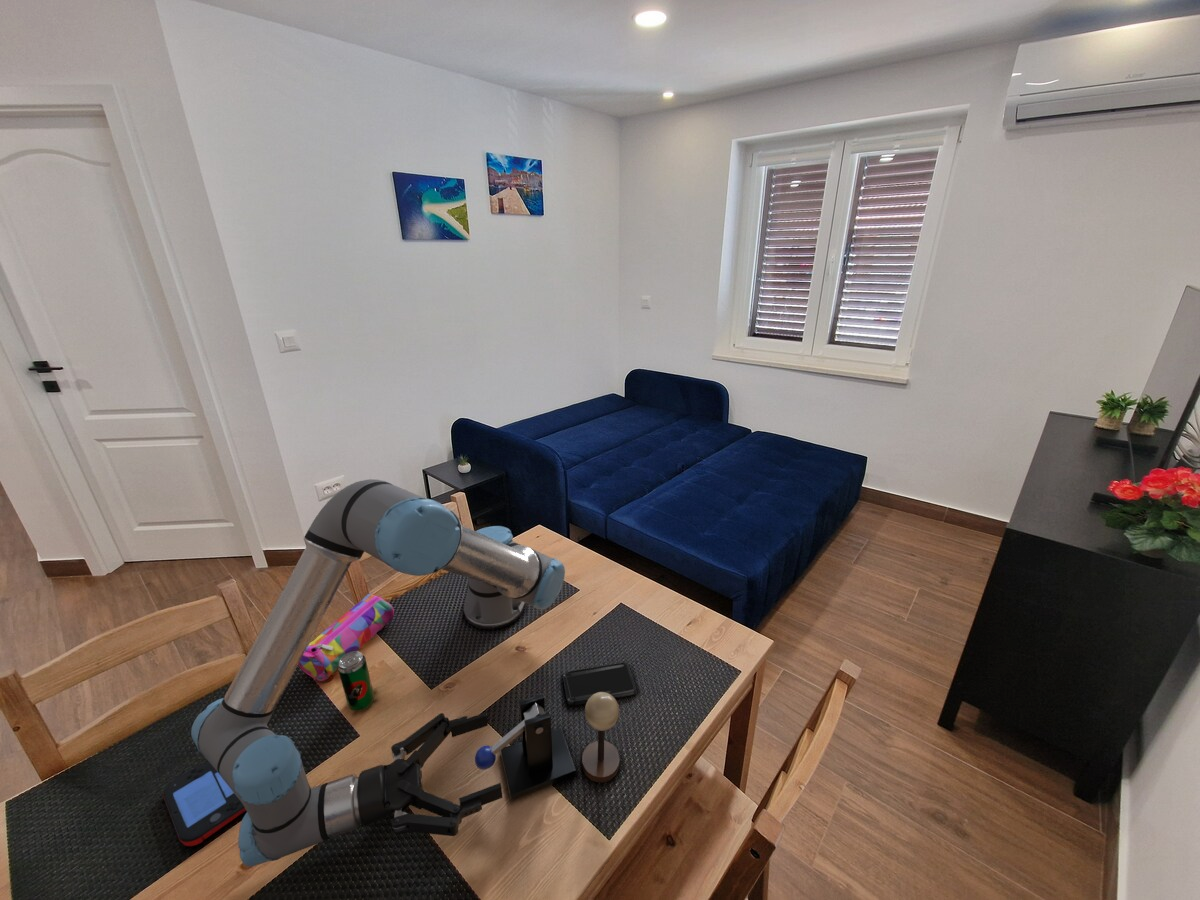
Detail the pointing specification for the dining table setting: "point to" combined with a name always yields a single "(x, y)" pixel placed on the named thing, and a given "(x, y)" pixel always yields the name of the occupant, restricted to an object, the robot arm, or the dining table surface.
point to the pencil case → (345, 636)
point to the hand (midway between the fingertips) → (494, 752)
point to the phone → (598, 682)
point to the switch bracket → (536, 754)
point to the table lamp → (601, 738)
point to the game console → (200, 804)
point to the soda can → (356, 680)
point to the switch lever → (504, 740)
